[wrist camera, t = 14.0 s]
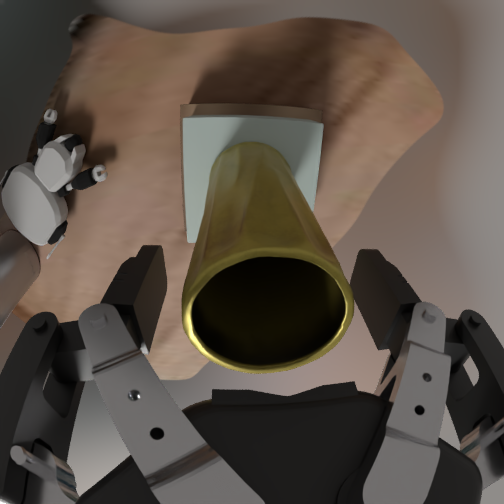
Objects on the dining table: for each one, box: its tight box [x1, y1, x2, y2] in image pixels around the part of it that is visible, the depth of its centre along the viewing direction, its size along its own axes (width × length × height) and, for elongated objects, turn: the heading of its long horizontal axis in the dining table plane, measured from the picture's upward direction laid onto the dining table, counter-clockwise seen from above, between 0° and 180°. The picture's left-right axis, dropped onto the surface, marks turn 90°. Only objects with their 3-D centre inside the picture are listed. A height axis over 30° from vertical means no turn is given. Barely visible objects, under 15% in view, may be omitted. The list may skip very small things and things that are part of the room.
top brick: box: [183, 115, 324, 243], centre depth 22 cm, size 10×10×4 cm
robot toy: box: [0, 109, 107, 259], centre depth 25 cm, size 12×4×15 cm
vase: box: [182, 142, 354, 374], centre depth 14 cm, size 6×6×14 cm
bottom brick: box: [180, 103, 322, 231], centre depth 25 cm, size 12×12×4 cm
